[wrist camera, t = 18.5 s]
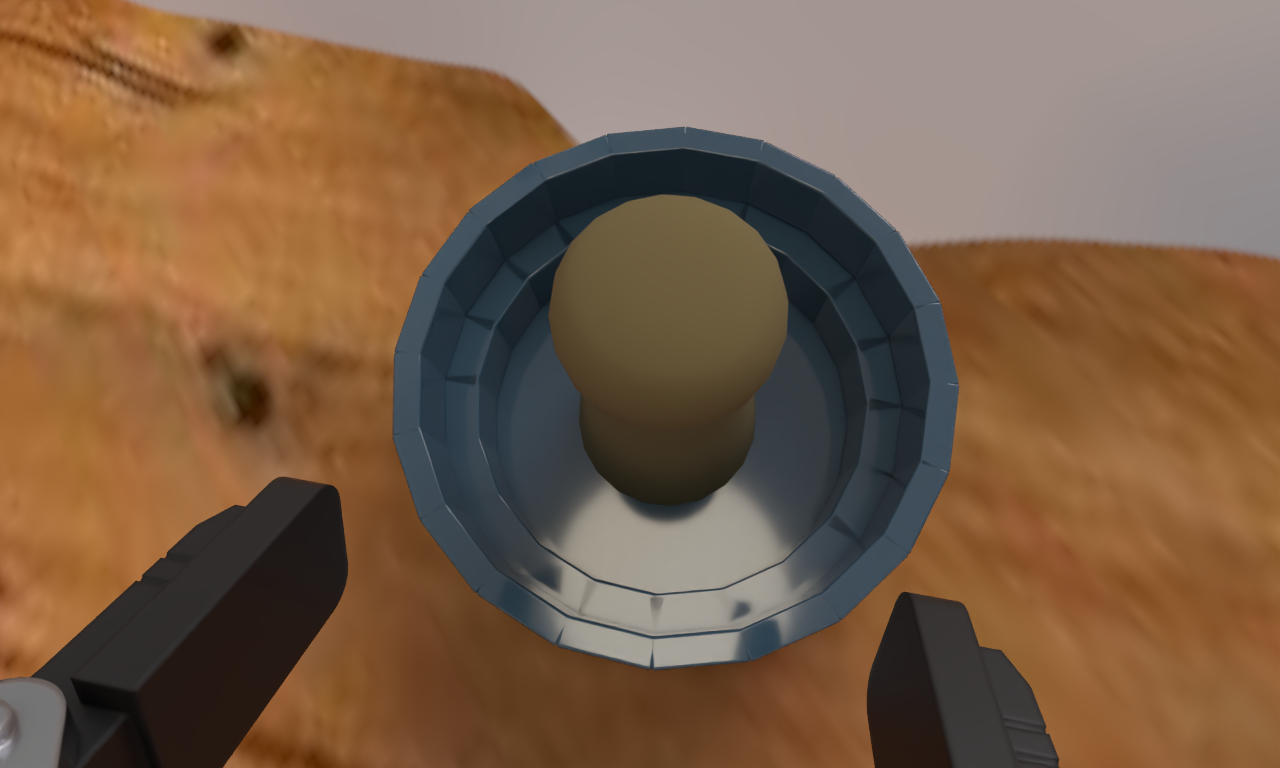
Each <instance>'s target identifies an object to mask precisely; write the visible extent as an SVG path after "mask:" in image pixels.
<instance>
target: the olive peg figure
mask: <svg viewBox="0 0 1280 768" xmlns="http://www.w3.org/2000/svg"><path fill="white" fill-rule="evenodd" d="M548 317H549V322H550V328H551V333H552V339H553V344H554V350H555V352H556V354H557V356H558V358H559V360H560V362H561V363H562V365H563V367H564V369H565V371H566V372H567V374H568V376H569V378H570V379H571V381H572V383H573V385H574V386H575V388H576V390H578V391H579V392H580V393H581V398H580V415H579V424H580V429H581V435H582V440H583V445H584V449H585V451H586V453H587V455H588V456H589V458H590V460H591V462H592V463H593V465H594V467H595V469H596V471H597V472H598V473H599V474H600V475H601V476H602V477H603V478H604V479H605V480H606V481H607V482H609V483H610V484H611V485H612V486H613V487H614V488H615V489H616V490H617V491H619V492H621V493H623V494H625V495H628V496H630V497H632V498H634V499H637V500H639V501H641V502H643V503H650V504H660V505H669V506H674V505H679V504H683V503H688V502H693V501H698V500H701V499H703V498H704V497H706V496H708V495H710V494H711V493H713V492H715V491H716V490H718V489H720V488H722V487H723V486H725V485H726V484H727V483H728V481H729V480H730V479H731V478H732V477H733V476H734V475H735V473H736V472H737V471H738V470H739V469H740V468H741V467H742V465H743V464H744V461H745V459H746V457H747V454H748V452H749V449H750V447H751V445H752V442H753V440H754V427H755V393H756V392H757V391H758V390H759V389H760V387H761V386H762V385H763V384H764V383H765V382H766V381H767V380H768V378H769V376H770V374H771V373H772V371H773V368H774V366H775V364H776V361H777V359H778V356H779V354H780V352H781V349H782V347H783V344H784V342H785V340H786V337H787V320H788V297H787V292H786V289H785V285H784V282H783V278H782V275H781V272H780V268H779V265H778V261H777V259H776V257H775V256H774V254H773V253H772V251H771V250H770V249H769V247H768V246H767V244H766V243H765V241H764V240H763V239H762V237H761V236H760V234H759V233H758V231H757V230H755V229H754V228H753V227H751V226H750V225H749V224H747V223H746V222H745V221H743V220H742V219H741V218H739V217H738V216H737V215H736V214H734V213H733V212H732V211H730V210H728V209H726V208H723V207H720V206H718V205H715V204H712V203H710V202H707V201H704V200H702V199H699V198H696V197H688V196H676V195H663V194H662V195H657V196H652V197H647V198H642V199H637V200H632V201H628V202H626V203H624V204H622V205H620V206H618V207H616V208H614V209H612V210H610V211H608V212H606V213H605V214H603V215H601V216H599V217H597V218H595V219H594V220H593V221H592V222H591V223H590V224H589V225H588V226H587V227H586V228H585V229H584V230H583V231H582V232H581V233H580V234H579V235H578V236H577V237H576V238H575V239H574V240H573V241H572V242H571V244H570V246H569V248H568V250H567V252H566V253H565V255H564V257H563V259H562V261H561V263H560V265H559V267H558V269H557V270H556V273H555V278H554V283H553V289H552V295H551V302H550V308H549V314H548Z"/></svg>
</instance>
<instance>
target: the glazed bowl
mask: <svg viewBox="0 0 1280 768" xmlns="http://www.w3.org/2000/svg"><path fill="white" fill-rule="evenodd" d="M662 194H663V195H676V196H688V197H696V198H699V199H702V200H704V201H707V202H710V203H712V204H715V205H718V206H720V207H723V208H726V209H728V210H730V211H732V212H733V213H734V214H736V215H737V216H738V217H739V218H741V219H742V220H743V221H745V222H746V223H747V224H749V225H750V226H751V227H753V228H754V229H755V230H757V231H758V233H759V234H760V236H761V237H762V239H763V240H764V241H765V243H766V244H767V246H768V247H769V249H770V250H771V251H772V253H773V254H774V256H775V257H776V259H777V261H778V265H779V268H780V272H781V275H782V278H783V282H784V285H785V289H786V292H787V297H788V320H787V337H786V340H785V342H784V344H783V347H782V349H781V352H780V354H779V356H778V359H777V361H776V364H775V366H774V368H773V371H772V373H771V374H770V376H769V378H768V380H767V381H766V382H765V383H764V384H763V385H762V386H761V387H760V389H759V390H758V391H757V392H756V393H755V427H754V440H753V442H752V445H751V447H750V449H749V452H748V454H747V457H746V459H745V461H744V464H743V465H742V467H741V468H740V469H739V470H738V471H737V472H736V473H735V475H734V476H733V477H732V478H731V479H730V480H729V481H728V483H727V484H726V485H725V486H723V487H722V488H720V489H718V490H716V491H715V492H713V493H711V494H710V495H708V496H706V497H704V498H703V499H701V500H698V501H693V502H688V503H683V504H679V505H674V506H669V505H660V504H650V503H643V502H641V501H639V500H637V499H634V498H632V497H630V496H628V495H625V494H623V493H621V492H619V491H617V490H616V489H615V488H614V487H613V486H612V485H611V484H610V483H609V482H607V481H606V480H605V479H604V478H603V477H602V476H601V475H600V474H599V473H598V472H597V471H596V469H595V467H594V465H593V463H592V462H591V460H590V458H589V456H588V455H587V453H586V451H585V449H584V445H583V440H582V435H581V429H580V424H579V415H580V398H581V393H580V392H579V391H578V390H576V388H575V386H574V385H573V383H572V381H571V379H570V378H569V376H568V374H567V372H566V371H565V369H564V367H563V365H562V363H561V362H560V360H559V358H558V356H557V354H556V352H555V350H554V344H553V339H552V333H551V328H550V322H549V317H548V314H549V308H550V302H551V295H552V289H553V283H554V278H555V273H556V270H557V269H558V267H559V265H560V263H561V261H562V259H563V257H564V255H565V253H566V252H567V250H568V248H569V246H570V244H571V242H572V241H573V240H574V239H575V238H576V237H577V236H578V235H579V234H580V233H581V232H582V231H583V230H584V229H585V228H586V227H587V226H588V225H589V224H590V223H591V222H592V221H593V220H594V219H595V218H597V217H599V216H601V215H603V214H605V213H606V212H608V211H610V210H612V209H614V208H616V207H618V206H620V205H622V204H624V203H626V202H628V201H632V200H637V199H642V198H647V197H652V196H657V195H662ZM469 211H470V212H468V213H467V214H466V215H465V216H464V218H463V219H462V220H461V222H460V223H459V225H458V226H457V227H456V229H455V230H454V231H453V233H452V234H451V235H450V237H449V238H448V239H447V241H446V242H445V243H444V245H443V246H442V247H441V249H440V250H439V251H438V253H437V254H436V255H435V257H434V258H433V259H432V261H431V262H430V264H429V265H428V266H427V268H426V269H425V270H424V272H423V274H422V275H423V276H420V279H419V282H418V284H417V287H416V290H415V293H414V296H413V299H412V302H411V305H410V307H409V310H408V313H407V316H406V319H405V322H404V325H403V327H402V330H401V333H400V336H399V339H398V342H397V345H396V348H395V352H396V353H395V354H394V386H393V441H394V444H395V447H396V450H397V453H398V456H399V459H400V462H401V465H402V468H403V471H404V474H405V477H406V481H407V484H408V487H409V490H410V493H411V496H412V499H413V502H414V505H415V508H416V511H417V514H418V517H419V519H420V521H421V523H422V524H423V526H424V527H425V528H426V530H427V531H428V532H429V533H430V535H431V536H432V537H433V539H434V540H435V541H436V543H437V544H438V545H439V547H440V548H441V549H442V551H443V552H444V553H445V554H446V556H447V557H448V558H449V560H450V561H451V562H452V564H453V565H454V566H455V568H456V569H457V570H458V572H459V573H460V574H461V576H462V577H463V578H464V579H465V581H466V582H467V583H468V585H469V586H470V587H471V589H472V590H473V591H474V592H475V593H477V594H478V596H480V597H481V598H483V599H484V600H486V601H487V602H489V603H490V604H492V605H493V606H495V607H496V608H498V609H500V610H501V611H503V612H504V613H506V614H507V615H509V616H510V617H512V618H513V619H515V620H516V621H518V622H519V623H521V624H522V625H524V626H525V627H527V628H528V629H530V630H531V631H533V632H534V633H536V634H537V635H539V636H540V637H542V638H543V639H545V640H546V641H548V642H550V643H551V644H553V645H557V646H558V647H559V648H563V649H567V650H571V651H575V652H579V653H583V654H587V655H591V656H595V657H599V658H603V659H607V660H611V661H615V662H619V663H623V664H627V665H631V666H635V667H639V668H642V669H646V670H650V669H651V668H652V670H666V669H677V668H689V667H700V666H711V665H723V664H734V663H745V662H749V661H754V660H757V659H759V658H761V657H763V656H765V655H768V654H770V653H772V652H774V651H776V650H779V649H781V648H783V647H785V646H787V645H790V644H792V643H794V642H796V641H798V640H801V639H803V638H805V637H807V636H809V635H812V634H814V633H816V632H818V631H820V630H823V629H825V628H827V627H829V626H831V625H834V624H836V623H838V622H839V621H840V620H842V619H843V618H845V617H846V616H847V615H848V614H849V613H850V612H851V611H852V610H853V609H854V608H855V607H856V606H857V605H858V604H859V603H860V602H861V601H862V600H863V599H864V598H865V597H866V596H867V595H868V594H869V593H870V592H871V591H872V590H873V589H874V588H875V587H876V586H878V585H879V584H880V583H881V582H882V581H883V580H884V579H885V578H886V577H887V576H888V575H889V574H890V573H891V572H892V571H893V570H894V569H895V568H896V567H897V566H898V565H899V564H900V563H901V562H902V561H903V560H904V559H905V558H906V557H907V556H908V554H909V553H910V552H911V550H912V548H913V546H914V544H915V542H916V540H917V538H918V536H919V534H920V532H921V530H922V528H923V526H924V524H925V522H926V519H927V517H928V515H929V513H930V511H931V509H932V507H933V505H934V503H935V501H936V499H937V497H938V495H939V493H940V491H941V489H942V487H943V485H944V483H945V481H946V479H947V477H948V475H949V471H950V464H951V455H952V446H953V437H954V428H955V419H956V410H957V402H958V393H959V385H958V378H957V374H956V369H955V365H954V360H953V356H952V351H951V347H950V343H949V338H948V334H947V329H946V325H945V320H944V316H943V311H942V307H941V303H939V302H940V300H939V298H938V297H937V295H936V293H935V292H934V290H933V288H932V287H931V285H930V283H929V282H928V280H927V278H926V277H925V275H924V273H923V272H922V270H921V268H920V266H919V265H918V263H917V261H916V260H915V258H914V256H913V255H912V253H911V251H910V250H909V248H908V246H907V245H906V243H905V241H904V240H903V238H902V236H901V235H900V233H899V232H898V231H896V229H895V228H894V227H893V226H892V225H891V224H889V223H888V222H887V221H886V220H885V219H884V218H883V217H882V216H880V214H878V213H877V212H876V211H875V210H874V209H873V208H872V207H871V206H870V205H868V204H867V203H866V202H865V201H864V200H863V199H862V198H861V197H859V196H858V195H857V194H856V193H855V192H854V191H853V190H852V189H851V188H849V187H848V186H847V185H846V184H845V183H844V182H843V181H842V180H841V179H839V178H836V176H835V175H834V174H831V173H829V172H827V171H825V170H823V169H821V168H819V167H817V166H815V165H813V164H811V163H809V162H807V161H805V160H802V159H800V158H798V157H796V156H794V155H792V154H790V153H788V152H786V151H783V150H782V149H780V148H778V147H775V146H773V145H771V144H769V143H767V142H765V143H764V141H763V140H758V139H752V138H746V137H741V136H735V135H729V134H724V133H718V132H712V131H707V130H702V129H696V128H690V127H686V128H685V127H676V128H666V129H655V130H644V131H635V132H623V133H613V134H607V136H606V135H604V136H602V137H599V138H596V139H594V140H591V141H588V142H586V143H583V144H580V145H578V146H575V147H572V148H570V149H567V150H565V151H562V152H559V153H557V154H554V155H551V156H549V157H546V158H544V159H541V160H538V161H536V162H534V163H531V164H529V165H528V166H527V167H525V168H524V169H523V170H521V171H520V172H519V173H517V174H516V175H515V176H513V177H512V178H511V179H509V180H508V181H507V182H505V183H504V184H503V185H501V186H500V187H499V188H497V189H496V190H495V191H493V192H492V193H491V194H489V195H488V196H487V197H485V198H484V199H483V200H481V201H480V202H479V203H477V204H476V205H475V206H473V207H472V208H471V209H470V210H469Z"/></svg>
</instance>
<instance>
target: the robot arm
mask: <svg viewBox="0 0 1280 768" xmlns="http://www.w3.org/2000/svg"><path fill="white" fill-rule="evenodd" d="M347 575H348V560H347V552H346V544H345V535H344V527H343V519H342V511H341V503H340V496H339V493H338V491H337V489H336V488H335V487H334V486H332V485H328V484H322V483H317V482H311V481H306V480H300V479H295V478H289V477H278V478H276V479H274V480H273V481H272V482H271V483H269V484H268V485H267V486H266V487H265V488H264V489H263V490H262V491H261V492H260V493H259V494H258V495H257V496H256V497H255V498H254V499H253V500H252V501H251V502H250V503H249V504H248V505H247V506H246V507H244V506H239V505H234V506H232V507H230V508H228V509H226V510H224V511H222V512H221V513H219V514H217V515H215V516H213V517H211V518H209V519H207V520H205V521H204V522H202V523H200V524H198V525H196V526H195V527H194V528H193V529H192V530H191V531H190V532H189V533H187V534H186V535H185V536H184V537H183V538H182V539H181V540H180V541H179V542H178V543H177V544H175V545H174V546H173V547H172V548H171V549H170V550H169V551H168V552H167V556H166V557H165V558H160V559H159V560H158V561H157V562H156V563H155V564H154V565H153V566H152V567H150V568H149V569H148V570H147V571H146V572H145V573H144V574H143V575H142V579H141V581H140V582H139V581H135V582H134V583H133V584H132V585H131V586H130V587H129V588H128V589H127V590H125V591H124V592H123V593H122V594H121V595H120V596H119V597H118V598H117V599H116V600H115V601H113V602H112V603H111V604H110V605H109V606H108V607H107V608H106V609H105V610H104V611H103V612H102V613H100V614H99V615H98V616H97V617H96V618H95V619H94V620H93V621H92V622H91V623H90V624H88V625H87V626H86V627H85V628H84V629H83V630H82V631H81V632H80V633H79V634H78V635H77V636H75V637H74V638H73V639H72V640H71V641H70V642H69V643H68V644H67V645H66V646H65V647H63V648H62V649H61V650H60V651H59V652H58V653H57V654H56V655H55V656H54V657H53V658H51V659H50V660H49V661H48V662H47V663H46V664H45V665H44V666H43V667H42V668H41V669H39V670H38V671H37V672H36V673H35V674H33V675H32V676H31V677H19V678H9V679H4V680H0V768H223V766H224V765H225V764H226V762H227V761H228V759H229V758H230V757H231V755H232V754H233V752H234V751H235V749H236V748H237V747H238V745H239V744H240V742H241V741H242V740H243V738H244V737H245V735H246V734H247V733H248V731H249V730H250V728H251V727H252V725H253V724H254V723H255V721H256V720H257V718H258V717H259V716H260V714H261V713H262V711H263V710H264V709H265V707H266V706H267V704H268V703H269V702H270V700H271V699H272V697H273V696H274V694H275V693H276V692H277V690H278V689H279V687H280V686H281V685H282V683H283V682H284V680H285V679H286V678H287V676H288V675H289V673H290V672H291V670H292V669H293V668H294V666H295V665H296V663H297V662H298V661H299V659H300V658H301V656H302V655H303V654H304V652H305V651H306V649H307V648H308V646H309V645H310V644H311V642H312V641H313V639H314V638H315V637H316V635H317V634H318V632H319V631H320V630H321V628H322V627H323V625H324V624H325V623H326V621H327V620H328V618H329V617H330V615H331V614H332V613H333V611H334V610H335V608H336V607H337V605H338V603H339V601H340V599H341V597H342V594H343V591H344V588H345V585H346V581H347ZM867 715H868V723H869V730H870V737H871V744H872V751H873V758H874V765H875V768H1059V765H1058V761H1059V758H1058V756H1057V753H1056V751H1055V748H1054V745H1053V743H1052V740H1051V738H1050V735H1049V734H1046V731H1045V728H1046V725H1045V722H1044V720H1043V717H1042V715H1041V712H1040V709H1039V707H1038V704H1037V702H1036V699H1035V697H1034V694H1033V691H1032V689H1031V687H1030V685H1029V684H1028V683H1027V682H1026V680H1025V679H1024V678H1023V677H1022V675H1021V674H1020V673H1019V672H1018V671H1017V669H1016V668H1015V667H1014V666H1013V664H1012V663H1011V662H1010V661H1009V659H1008V658H1007V657H1006V656H1005V654H1004V653H1003V652H1002V651H1001V650H996V649H991V648H985V647H980V646H979V644H978V641H977V638H976V635H975V632H974V629H973V626H972V623H971V620H970V617H969V614H968V611H967V609H966V607H965V606H964V605H963V604H962V603H961V602H958V601H952V600H947V599H941V598H936V597H930V596H925V595H919V594H914V593H908V592H903V593H901V594H900V595H899V597H898V599H897V601H896V603H895V606H894V608H893V611H892V614H891V616H890V619H889V622H888V625H887V627H886V630H885V633H884V635H883V638H882V641H881V643H880V646H879V649H878V651H877V654H876V657H875V659H874V662H873V665H872V668H871V671H870V676H869V681H868V690H867Z"/></svg>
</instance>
